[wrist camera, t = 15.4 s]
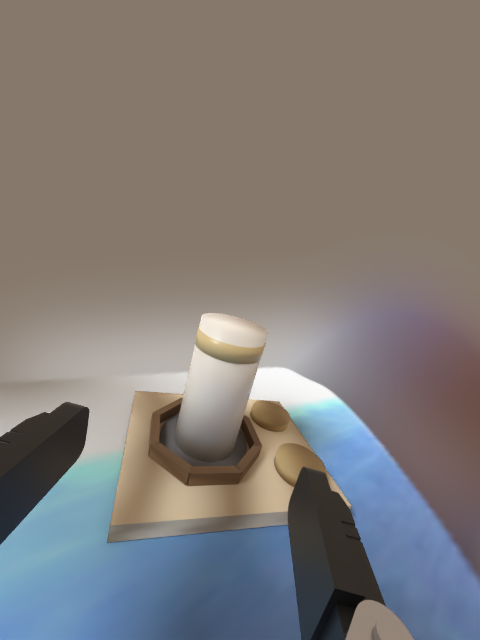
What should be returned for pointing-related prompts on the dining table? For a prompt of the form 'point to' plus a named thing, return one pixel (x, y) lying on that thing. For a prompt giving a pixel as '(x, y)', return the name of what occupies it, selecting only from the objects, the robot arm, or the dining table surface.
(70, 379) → the dining table surface
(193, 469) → the board
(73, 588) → the dining table surface
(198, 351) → the cylinder
